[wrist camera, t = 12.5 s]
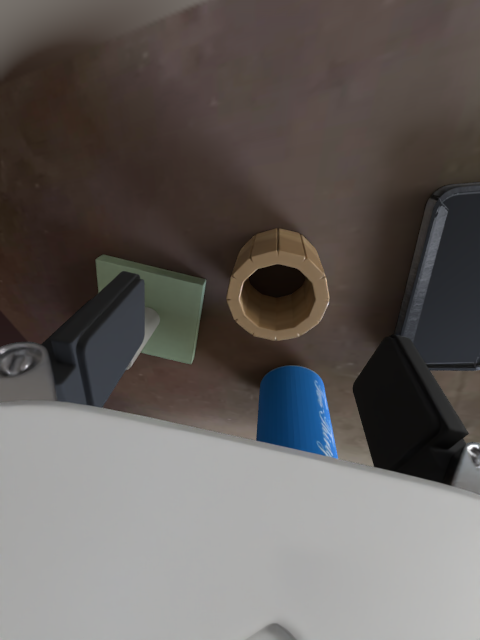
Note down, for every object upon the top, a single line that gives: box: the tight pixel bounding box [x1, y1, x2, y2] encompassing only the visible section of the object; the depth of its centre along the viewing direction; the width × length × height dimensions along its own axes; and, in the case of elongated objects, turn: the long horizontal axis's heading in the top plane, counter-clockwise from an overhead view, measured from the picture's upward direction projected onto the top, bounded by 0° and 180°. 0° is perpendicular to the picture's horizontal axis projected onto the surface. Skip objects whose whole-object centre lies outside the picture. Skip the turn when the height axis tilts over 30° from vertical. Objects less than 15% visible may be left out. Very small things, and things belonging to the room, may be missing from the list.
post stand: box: [96, 255, 206, 370], centre depth 23 cm, size 9×9×7 cm
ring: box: [226, 228, 330, 341], centre depth 20 cm, size 7×7×5 cm
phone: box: [395, 182, 480, 371], centre depth 21 cm, size 8×1×15 cm
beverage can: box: [256, 365, 338, 459], centre depth 24 cm, size 6×6×12 cm
